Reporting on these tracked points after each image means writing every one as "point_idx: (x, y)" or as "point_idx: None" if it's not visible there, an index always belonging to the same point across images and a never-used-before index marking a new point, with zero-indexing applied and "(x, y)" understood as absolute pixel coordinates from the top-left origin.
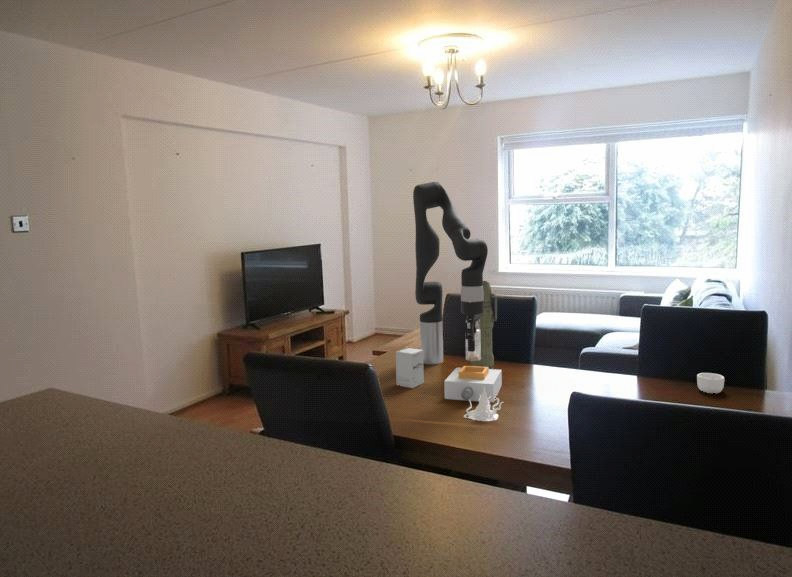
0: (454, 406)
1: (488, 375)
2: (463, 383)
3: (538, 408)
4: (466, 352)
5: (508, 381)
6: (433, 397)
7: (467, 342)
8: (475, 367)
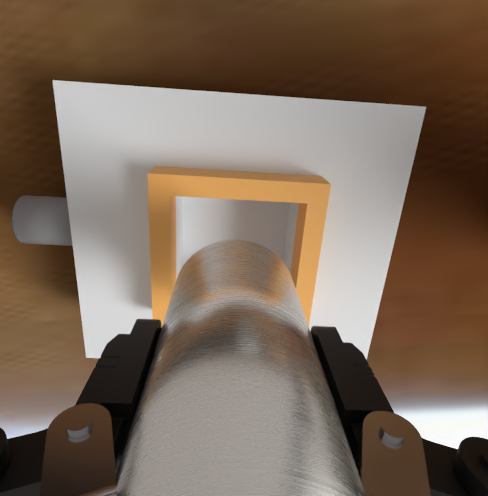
0: (2, 157)
1: None
2: (71, 209)
3: None
4: (193, 279)
5: (418, 333)
6: (104, 11)
7: (158, 362)
8: (298, 263)
